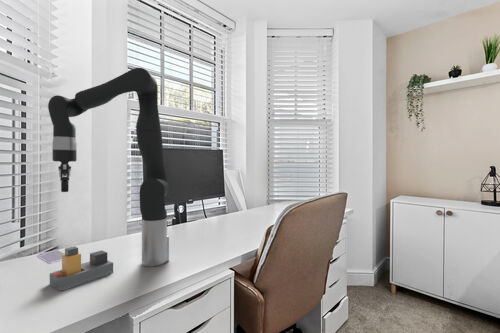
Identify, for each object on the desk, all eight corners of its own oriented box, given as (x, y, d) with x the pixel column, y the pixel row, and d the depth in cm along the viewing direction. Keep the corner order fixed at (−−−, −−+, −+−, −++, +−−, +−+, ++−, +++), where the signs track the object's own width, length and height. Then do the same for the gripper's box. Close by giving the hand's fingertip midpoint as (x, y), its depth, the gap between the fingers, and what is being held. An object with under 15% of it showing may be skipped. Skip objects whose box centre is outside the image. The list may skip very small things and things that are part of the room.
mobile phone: (49, 262, 97) (36, 254, 106) (49, 264, 97) (36, 256, 106) (71, 256, 103) (57, 249, 112) (71, 258, 103) (57, 251, 112)
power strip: (101, 267, 94) (101, 248, 94) (113, 272, 89) (113, 252, 89) (49, 284, 81) (49, 262, 81) (59, 291, 76) (59, 268, 76)
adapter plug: (76, 274, 85) (76, 245, 85) (81, 278, 83) (81, 247, 83) (62, 279, 82) (62, 248, 82) (66, 282, 79) (66, 251, 79)
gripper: (77, 148, 94) (77, 192, 94) (75, 150, 105) (76, 189, 106) (51, 147, 90) (51, 193, 90) (53, 149, 101) (53, 190, 101)
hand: (64, 191), depth 98 cm, fingers open, 8 cm apart
